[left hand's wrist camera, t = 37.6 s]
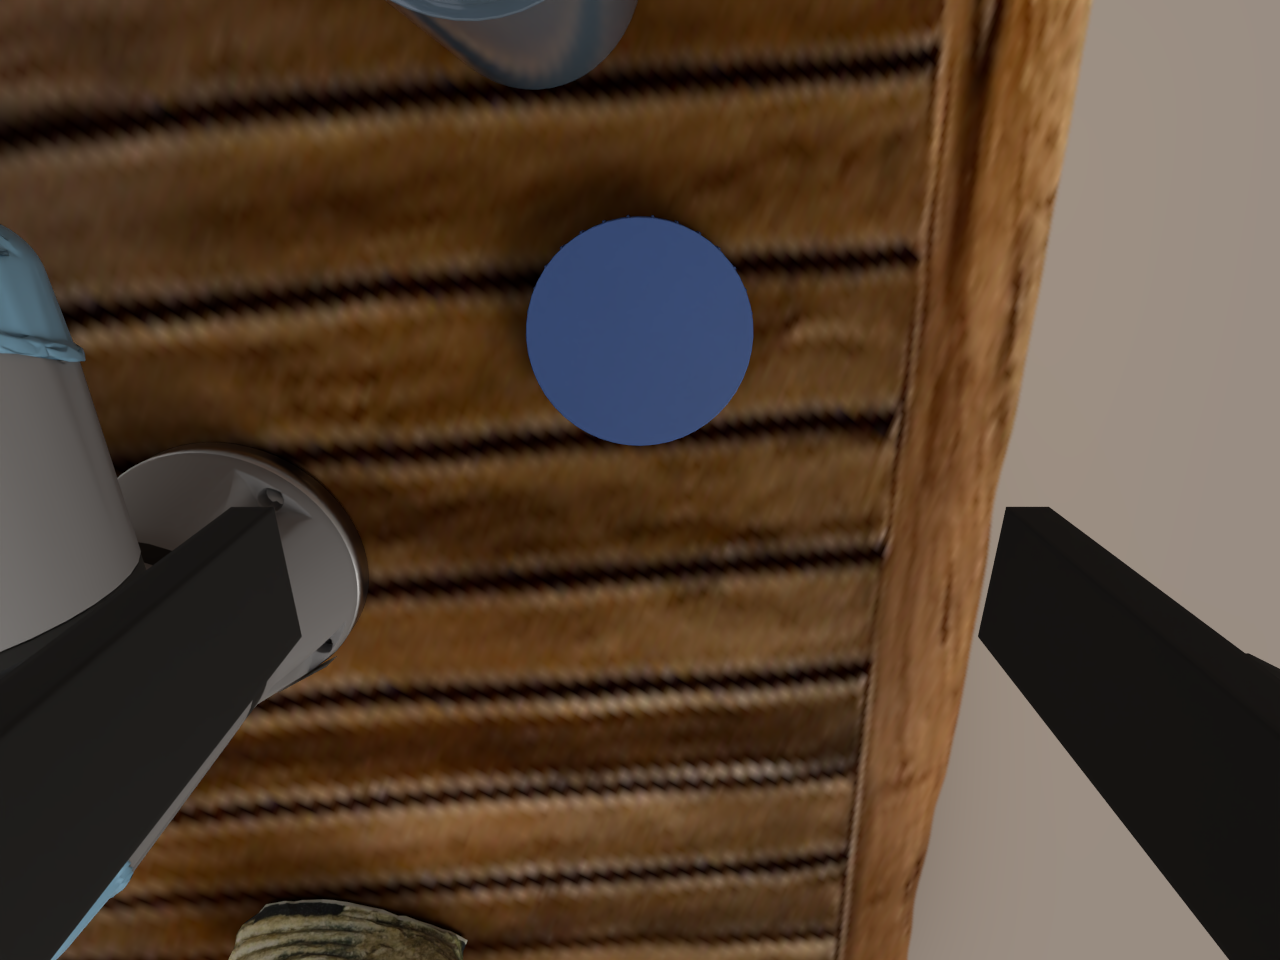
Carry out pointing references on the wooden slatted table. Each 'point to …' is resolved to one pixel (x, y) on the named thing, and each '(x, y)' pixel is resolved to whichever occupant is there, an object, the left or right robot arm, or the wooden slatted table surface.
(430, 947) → the fossil
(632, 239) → the lid
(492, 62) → the jar
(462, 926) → the wooden slatted table surface
